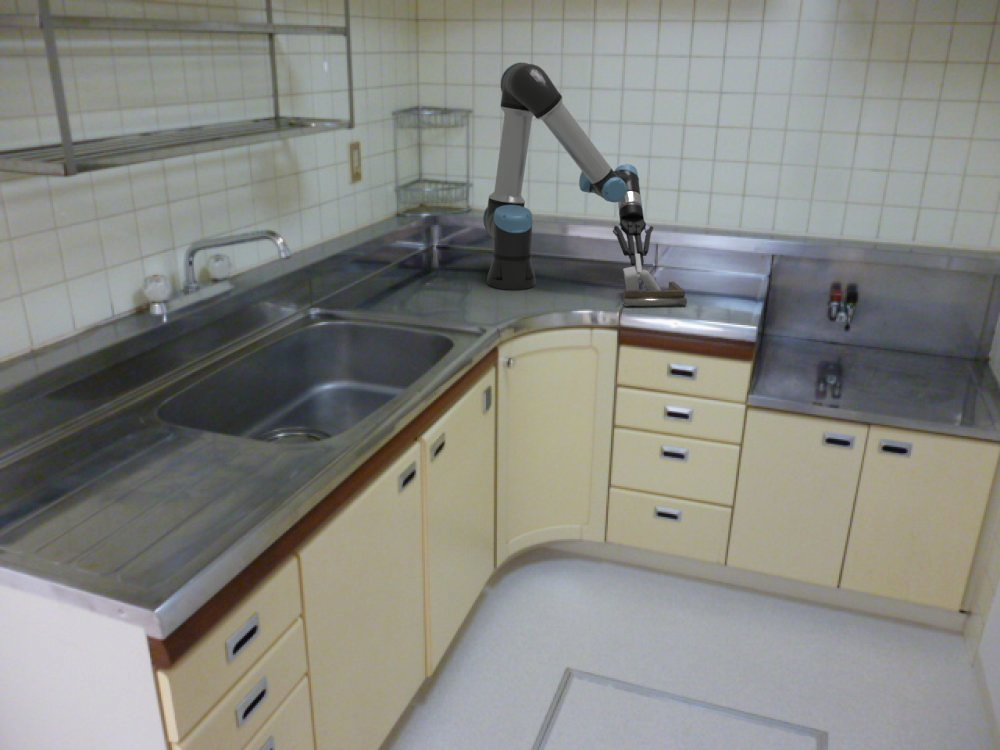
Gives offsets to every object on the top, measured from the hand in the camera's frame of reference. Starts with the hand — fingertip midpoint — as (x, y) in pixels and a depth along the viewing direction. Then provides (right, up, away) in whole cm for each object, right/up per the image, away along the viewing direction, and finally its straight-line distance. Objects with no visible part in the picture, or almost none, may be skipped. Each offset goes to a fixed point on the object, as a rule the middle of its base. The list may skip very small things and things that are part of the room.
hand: (638, 274), depth 258 cm
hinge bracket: (+2, -9, -10) cm, 14 cm away
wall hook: (0, -8, -6) cm, 10 cm away
